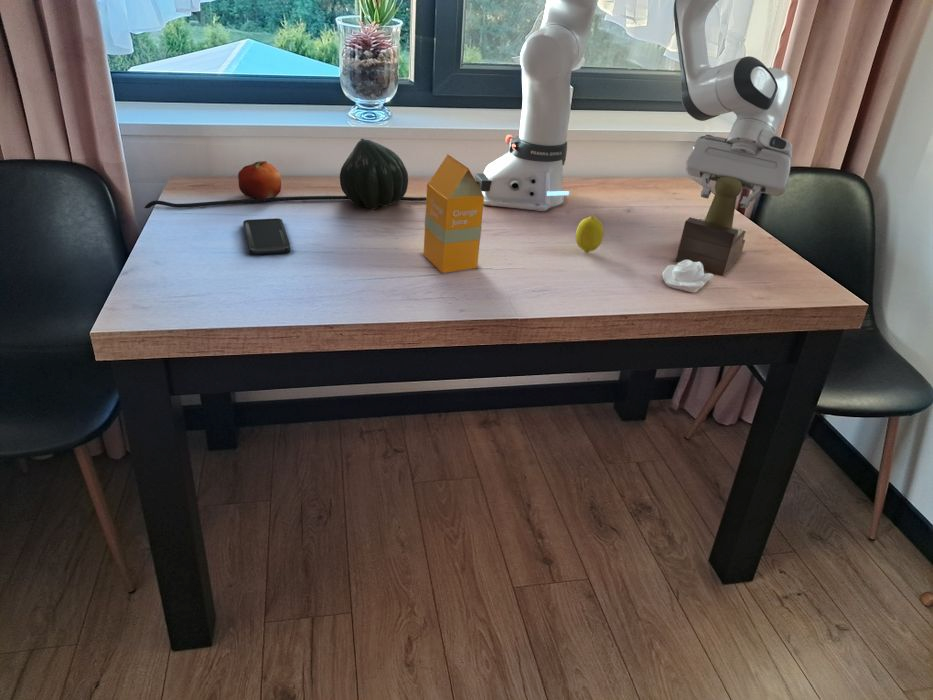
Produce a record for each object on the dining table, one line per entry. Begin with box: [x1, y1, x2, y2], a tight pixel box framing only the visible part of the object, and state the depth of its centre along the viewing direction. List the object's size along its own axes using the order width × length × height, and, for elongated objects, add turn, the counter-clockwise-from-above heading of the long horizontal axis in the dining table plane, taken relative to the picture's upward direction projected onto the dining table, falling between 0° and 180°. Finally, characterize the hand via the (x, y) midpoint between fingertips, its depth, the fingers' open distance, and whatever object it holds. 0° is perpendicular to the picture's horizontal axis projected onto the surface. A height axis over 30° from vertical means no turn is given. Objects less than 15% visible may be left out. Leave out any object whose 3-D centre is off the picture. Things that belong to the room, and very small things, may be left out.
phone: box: [242, 218, 291, 256], centre depth 147 cm, size 8×1×15 cm
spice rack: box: [675, 216, 746, 276], centre depth 155 cm, size 15×10×9 cm, turn 148°
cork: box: [704, 177, 743, 228], centre depth 151 cm, size 6×6×11 cm
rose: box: [662, 260, 714, 293], centre depth 144 cm, size 10×4×10 cm
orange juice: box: [423, 153, 485, 274], centre depth 140 cm, size 8×9×20 cm
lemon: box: [575, 215, 604, 254], centre depth 152 cm, size 6×6×8 cm
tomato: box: [237, 160, 282, 199], centre depth 164 cm, size 9×9×8 cm
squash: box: [339, 138, 409, 210], centre depth 166 cm, size 14×15×15 cm
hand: (723, 201), depth 150 cm, fingers open, 7 cm apart
